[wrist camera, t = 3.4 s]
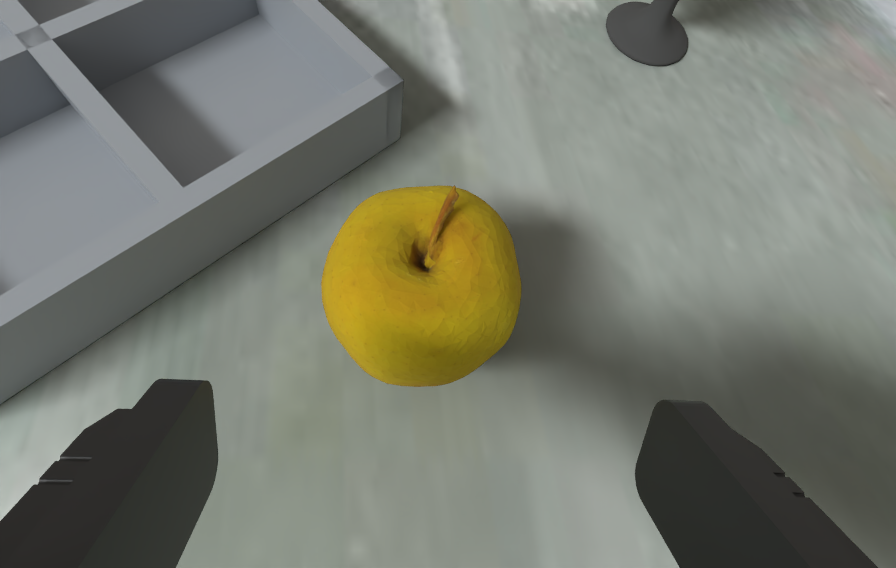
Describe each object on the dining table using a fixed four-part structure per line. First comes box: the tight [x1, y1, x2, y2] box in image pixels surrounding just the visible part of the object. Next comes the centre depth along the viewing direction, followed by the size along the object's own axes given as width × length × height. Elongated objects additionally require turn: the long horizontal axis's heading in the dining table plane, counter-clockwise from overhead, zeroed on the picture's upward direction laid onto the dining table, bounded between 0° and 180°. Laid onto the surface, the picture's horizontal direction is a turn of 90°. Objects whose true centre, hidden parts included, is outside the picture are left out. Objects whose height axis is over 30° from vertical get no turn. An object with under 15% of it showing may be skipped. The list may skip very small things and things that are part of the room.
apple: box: [321, 186, 521, 387], centre depth 16 cm, size 6×6×8 cm
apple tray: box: [0, 0, 404, 404], centre depth 20 cm, size 20×20×4 cm
